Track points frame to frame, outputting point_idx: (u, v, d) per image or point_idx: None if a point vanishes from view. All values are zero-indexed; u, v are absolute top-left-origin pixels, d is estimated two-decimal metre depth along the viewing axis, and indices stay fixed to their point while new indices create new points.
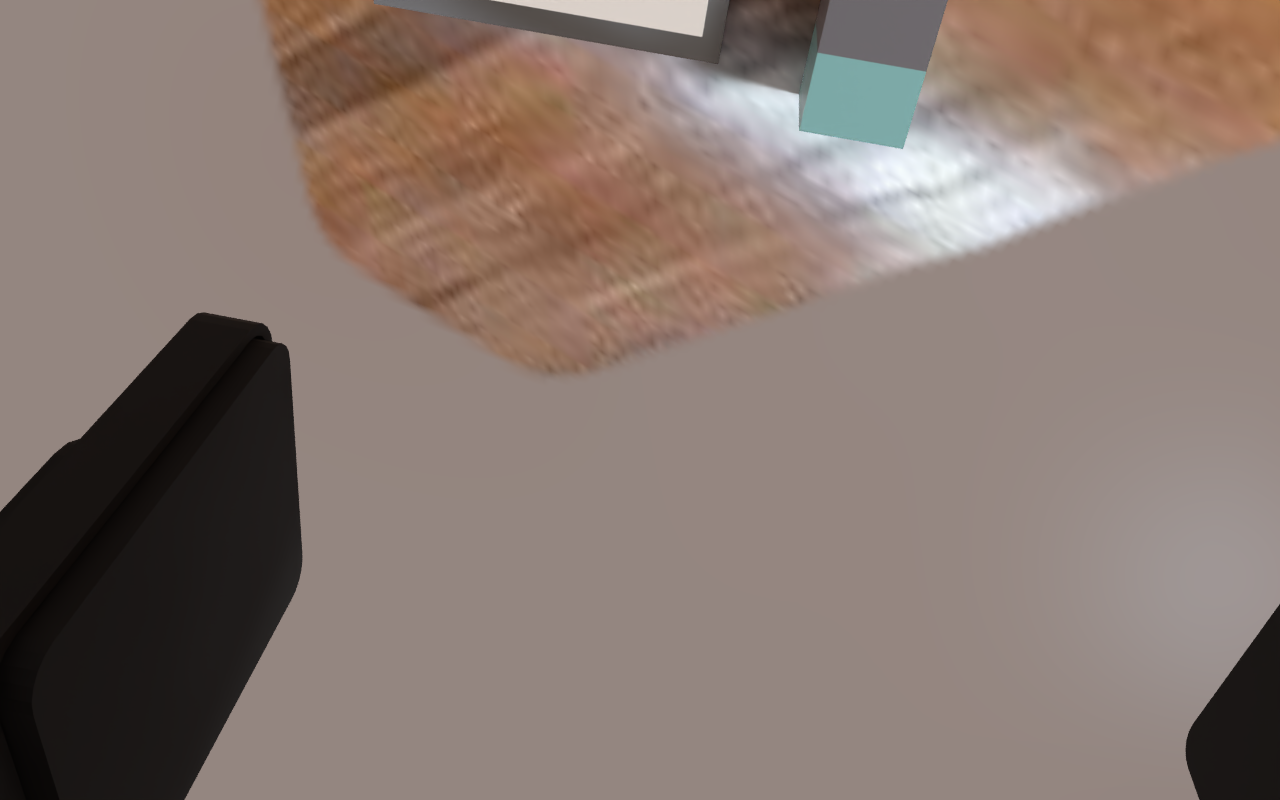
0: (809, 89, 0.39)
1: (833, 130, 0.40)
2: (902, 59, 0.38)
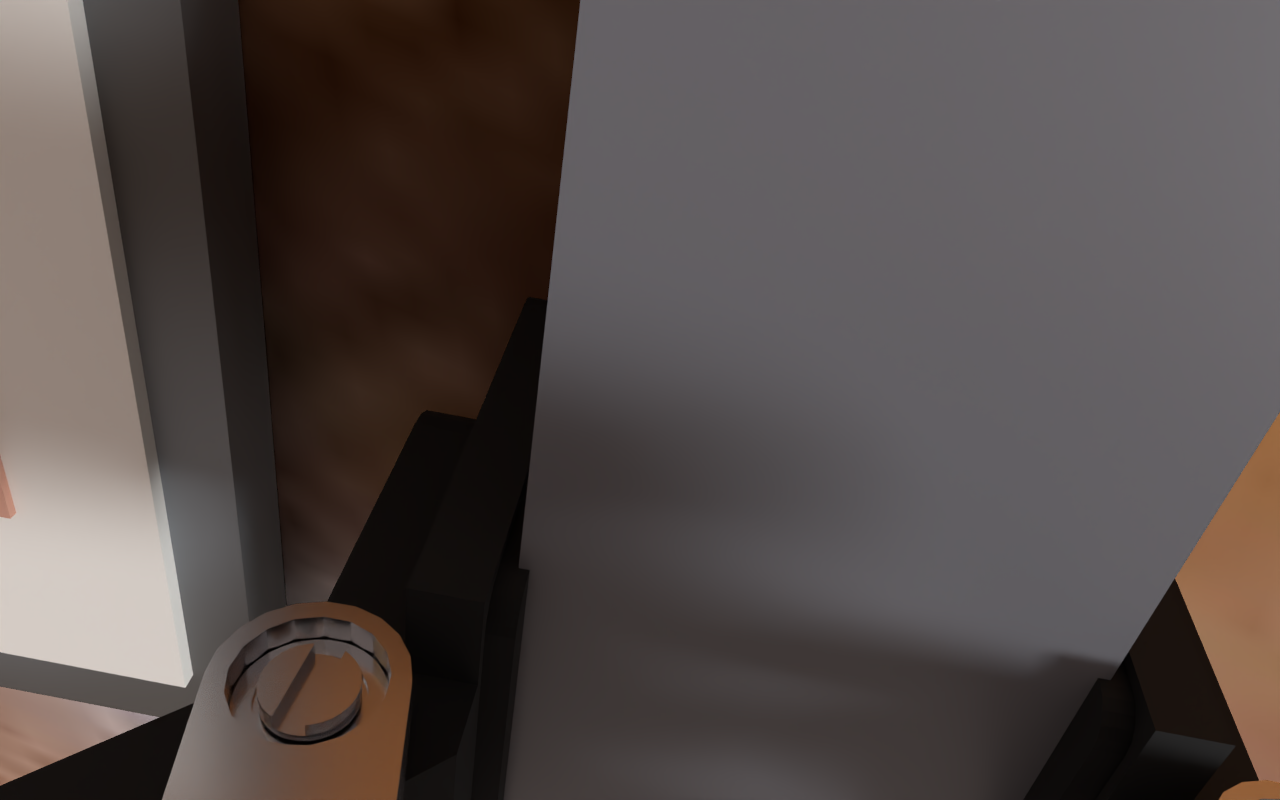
0: None
1: None
2: None
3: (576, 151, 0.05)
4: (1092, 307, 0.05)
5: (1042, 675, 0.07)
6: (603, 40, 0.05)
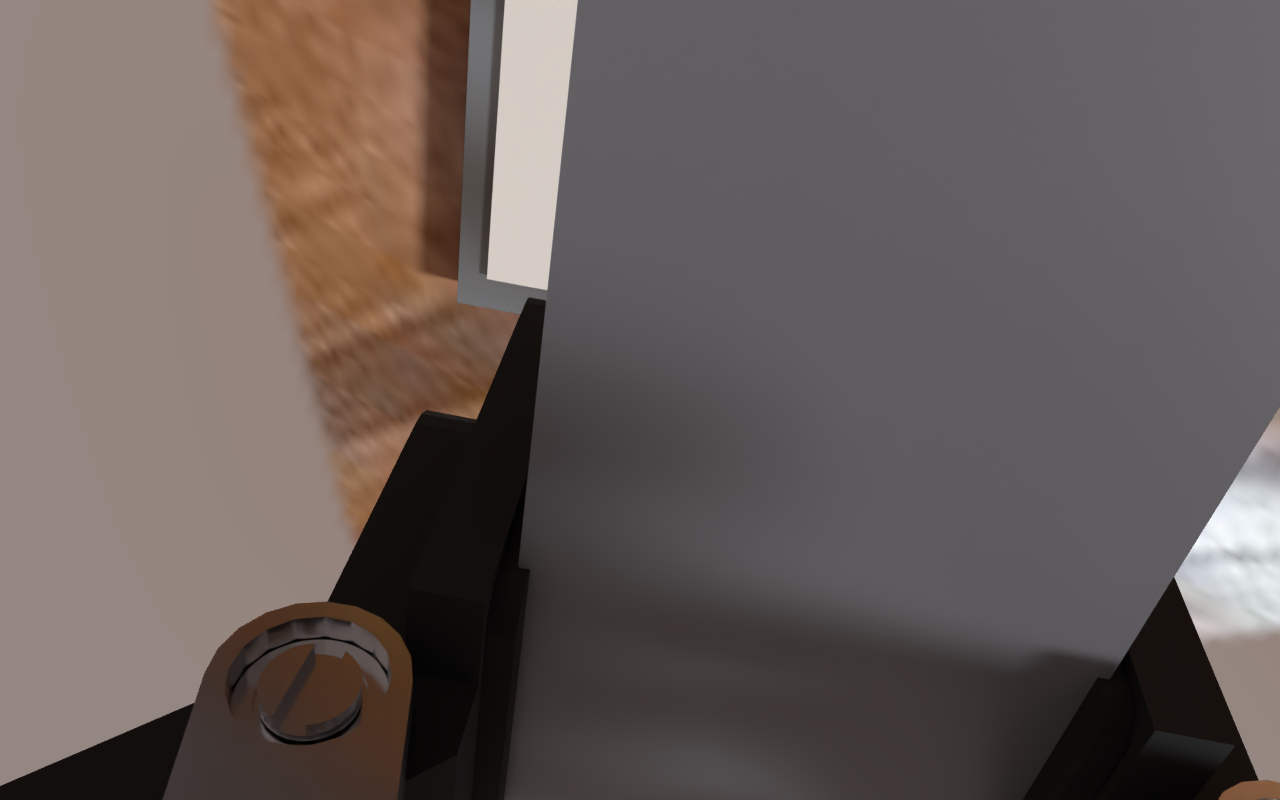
0: None
1: None
2: None
3: (571, 167, 0.05)
4: (1084, 321, 0.05)
5: (1037, 683, 0.07)
6: (598, 58, 0.05)
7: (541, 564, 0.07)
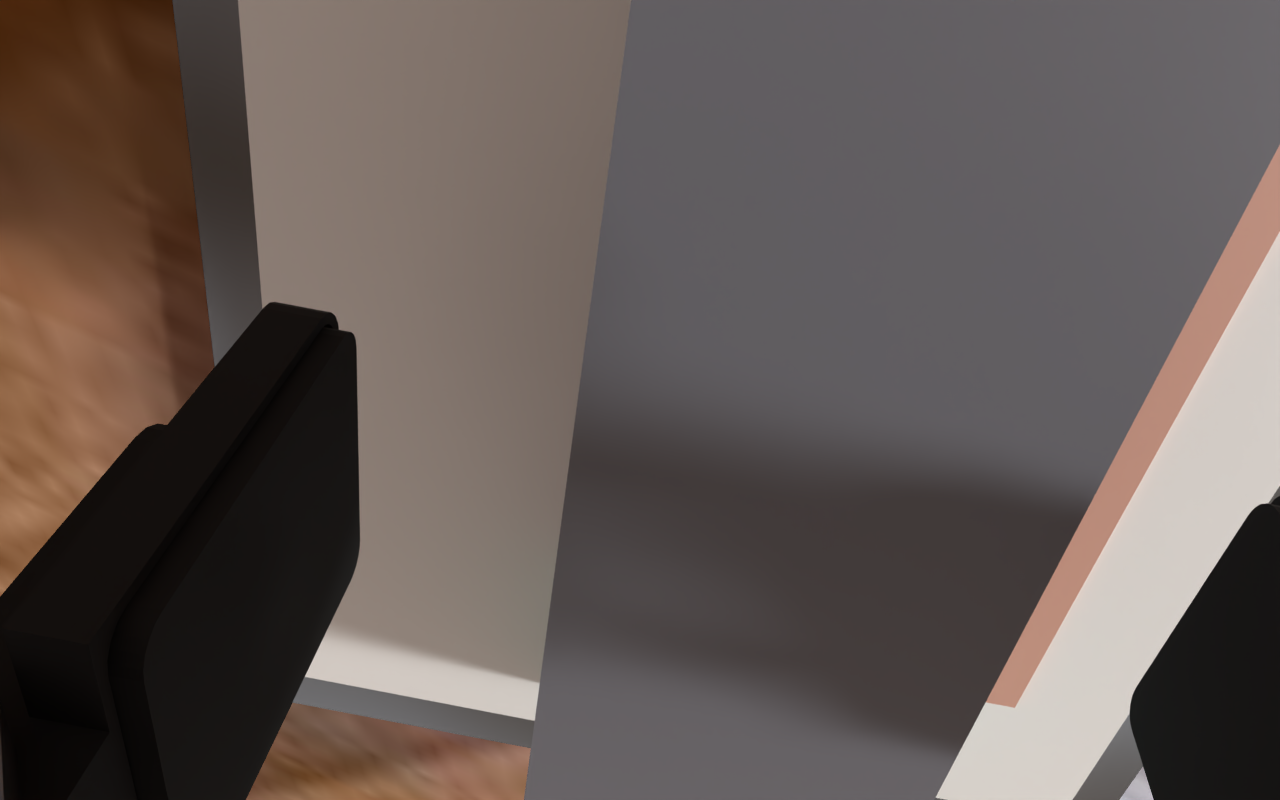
0: None
1: None
2: None
3: (630, 74, 0.07)
4: (1048, 201, 0.07)
5: (1015, 533, 0.08)
6: None
7: (593, 431, 0.08)
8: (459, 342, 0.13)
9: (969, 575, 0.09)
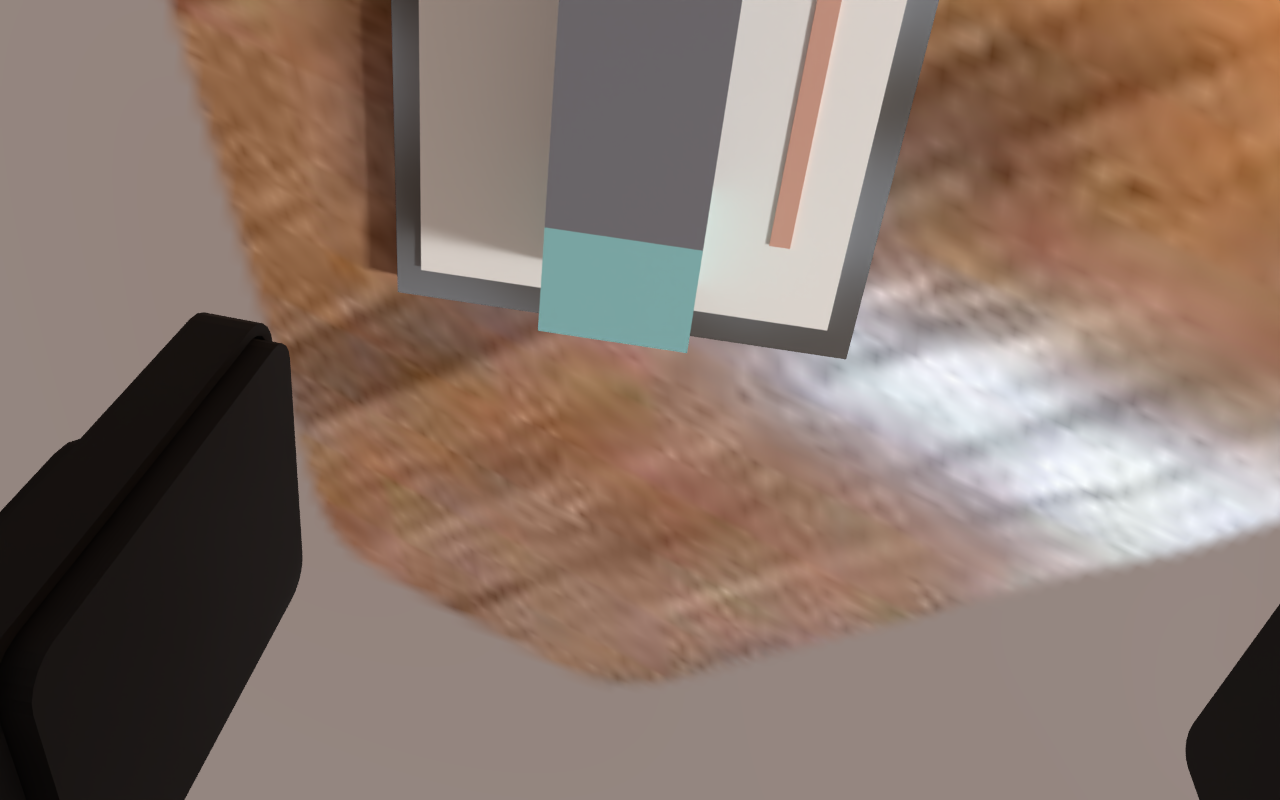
0: (542, 276, 0.27)
1: (585, 329, 0.28)
2: (666, 234, 0.26)
3: None
4: None
5: (715, 48, 0.23)
6: None
7: (564, 16, 0.23)
8: (509, 51, 0.28)
9: (703, 70, 0.24)
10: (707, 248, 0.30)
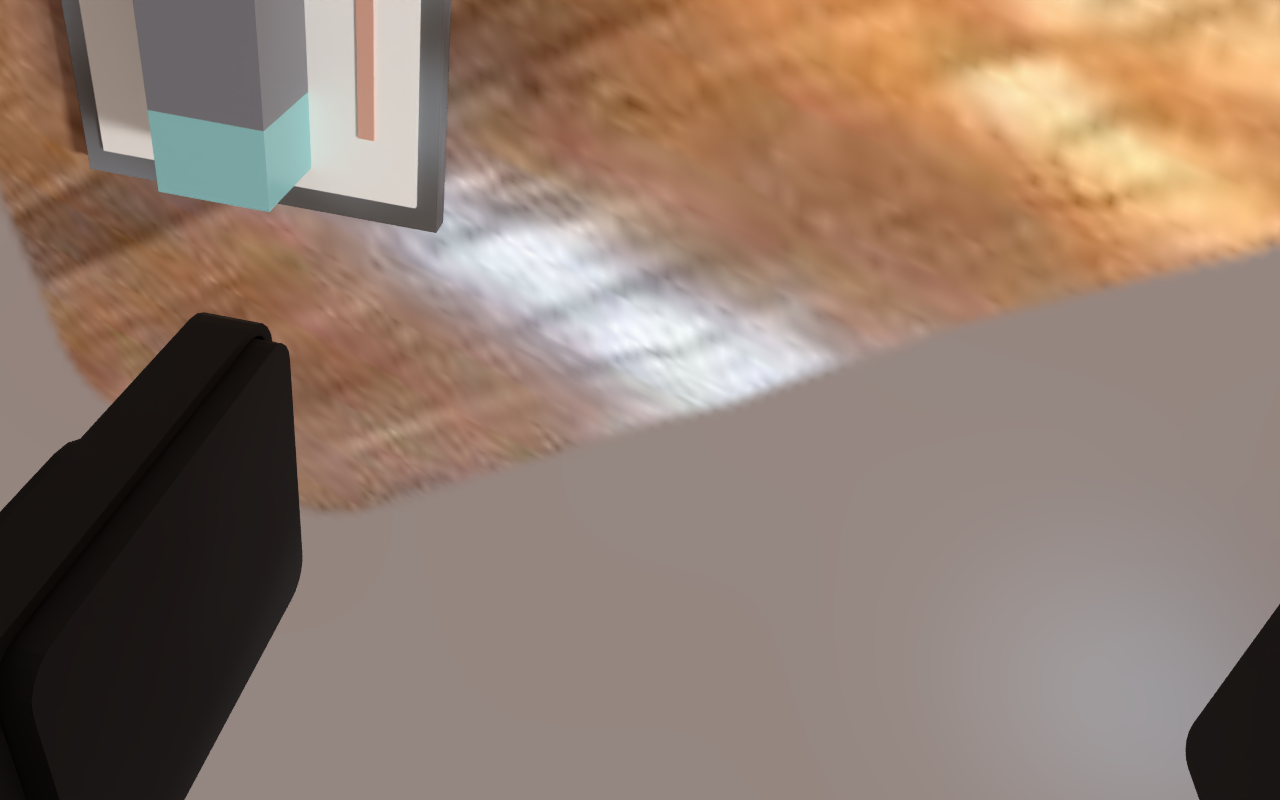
0: (154, 148, 0.36)
1: (193, 191, 0.37)
2: (235, 118, 0.35)
3: None
4: None
5: None
6: None
7: None
8: None
9: None
10: (314, 139, 0.40)
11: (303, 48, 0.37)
